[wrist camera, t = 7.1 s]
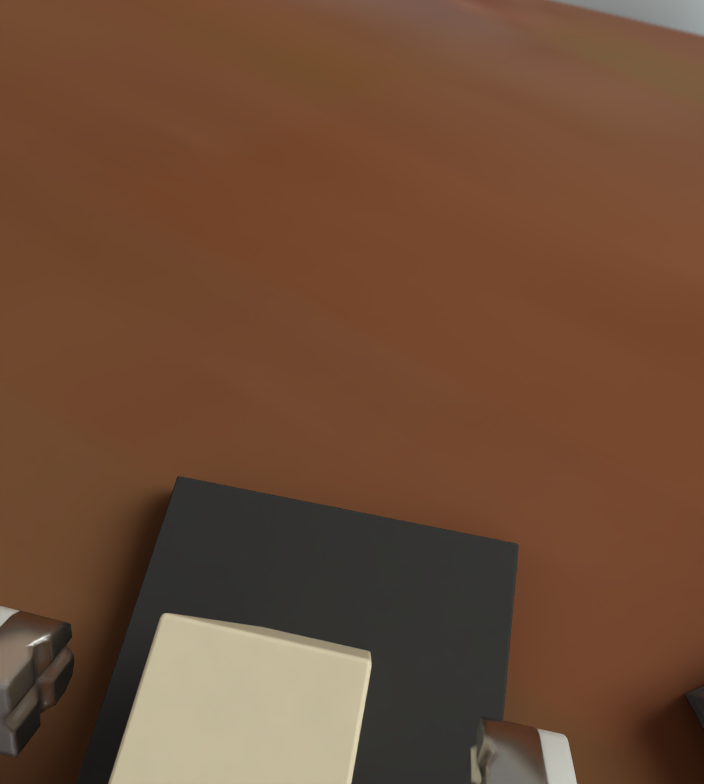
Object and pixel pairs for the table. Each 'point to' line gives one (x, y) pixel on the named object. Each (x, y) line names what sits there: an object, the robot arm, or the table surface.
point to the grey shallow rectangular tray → (697, 702)
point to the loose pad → (343, 599)
